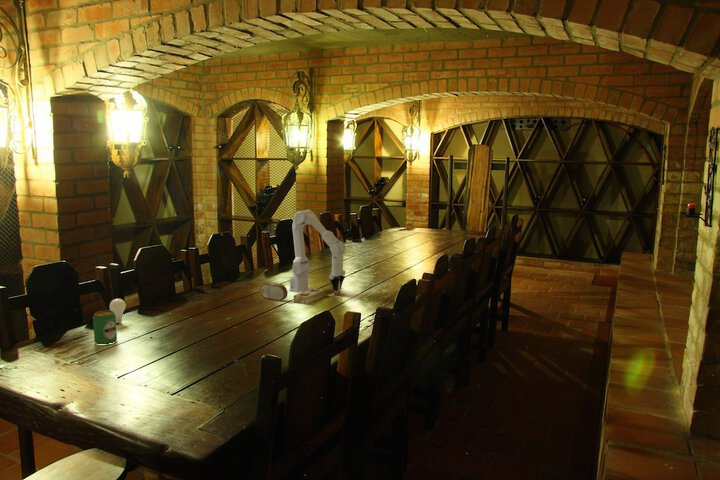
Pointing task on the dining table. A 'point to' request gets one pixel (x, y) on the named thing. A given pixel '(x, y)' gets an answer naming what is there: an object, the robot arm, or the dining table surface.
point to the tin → (274, 291)
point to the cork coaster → (337, 296)
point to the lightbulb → (118, 309)
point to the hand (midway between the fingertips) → (337, 290)
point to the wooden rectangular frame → (309, 296)
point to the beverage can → (104, 327)
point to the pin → (338, 289)
